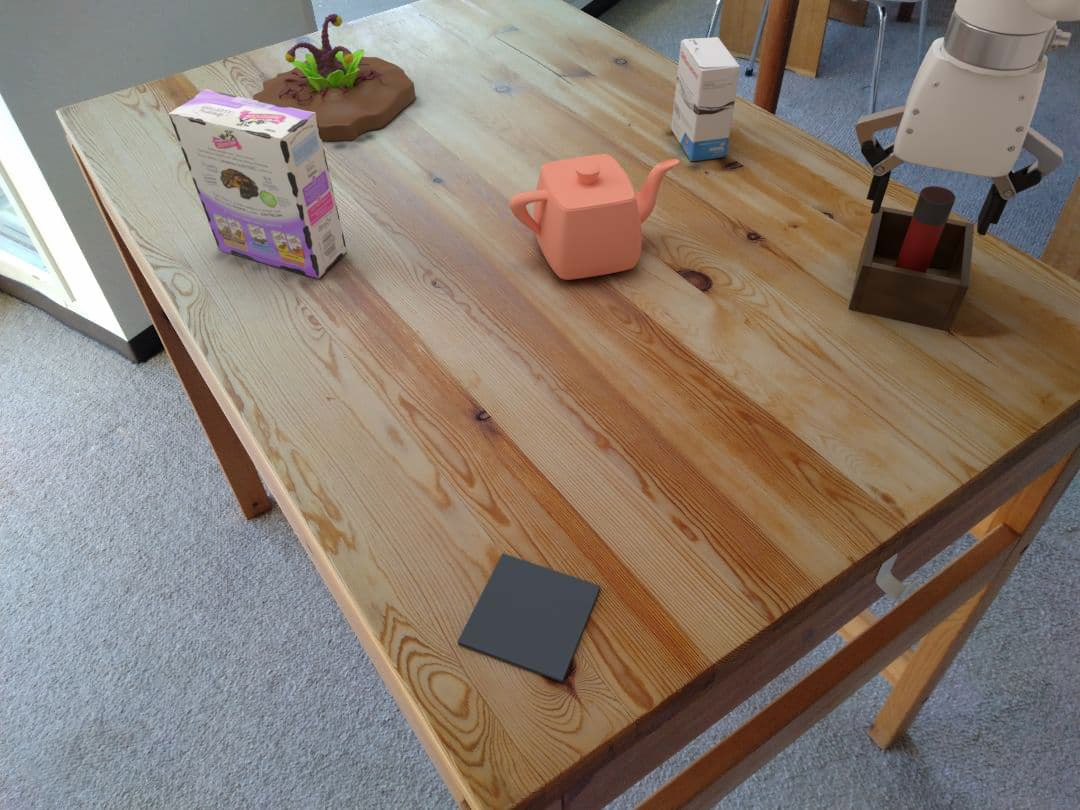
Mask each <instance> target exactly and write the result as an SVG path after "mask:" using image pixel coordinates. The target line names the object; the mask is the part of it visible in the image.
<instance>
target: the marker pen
mask: <svg viewBox="0 0 1080 810" xmlns="http://www.w3.org/2000/svg"><path fill="white" fill-rule="evenodd" d="M955 202H956V194H955V193H954V192H953V191H952V190H951V189H948V188H947V187H943V186H937V185H930V186H925V187H923V188H922V189H921V190H920V192H919V195H918V197H917V200H916V204H915V206H914V210H913V211H912V212H913V217H912V219H911V222H910V225H909V228H908V231H907V234H906V236H905V239H904V242H903V245H902V248H901V251H900V253H899V256H898V259H897V260H896V261H895V265H894V267H898V268H903V269H908V270H913V271H918V272H923V273H927V272H928V270H929V267H930V266H929V264H930V262H931V259H932V257H933V254H934V252H935V249H936V246H937V244H938V241H939V239H940V236H941V234H942V231H943V228H944V226H945V223H946V222H947V220H948V219H949V217H950V214H951V211H952V209H953V207H954V204H955Z"/></svg>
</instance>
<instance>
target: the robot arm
mask: <svg viewBox="0 0 1080 810" xmlns="http://www.w3.org/2000/svg"><path fill="white" fill-rule="evenodd" d="M1075 21H1076V22H1077V21H1080V0H956V2H955V4H954V8H953V10H952V13H951V16H950V20H949V22H948V25H947V29H946V32H945V35H944V37H943V36H942V37H939V38H936V39H935V40H934V41H933V42H932V43H931V45H930V47H929V48H928V50H927V52H926V54H925V56H924V58H923V60H922V61H921V64H920V66H919V68H918V71H917V72H916V74H915V77H914V80H913V82H912V85H911V88H910V90H909V92H908V95H907V97H906V100H905V103H904V104H903V105H900V106H897V107H896V106H895V107H892V108H889V109H885V110H880V111H877V112H873V113H871V114H869V113H868V114H866V115H862V116H859V117H858V118H857V120H856V125H855V132H856V136H857V140H858V143H859V145H860V152H861V154H862V156H863V157H864V159H865V160H866V162H867V163H868V164H869V166H870V167H871V168H872V174H873V176H872V179H871V182H870V186H869V189H868V192H867V196H866V200H868V201H872V203H871V204H872V205H871V208H870V214H872V215H873V214H876V213H879V210H880V207H881V206H882V205H883V201H884V198H885V195H886V192H887V189H888V185H889V182H890V179H891V174H892V170H894V169H896V168H897V167H900V165H902V164H903V163H908V164H911V165H916V166H921V167H926V168H932V169H938V170H942V171H948V172H955V173H960V174H965V175H970V176H977V177H984V178H990V179H991V180H992V182H993V183H992V184H991V186H990V188H989V190H988V193H987V195H986V198H985V200H984V202H983V204H982V207H981V209H980V211H979V214H978V217H977V227H976V233H977V234H978V235H979V236H983V237H984V236H986V235H987V232H988V230H989V228H990V225H992V224H993V225H997V224H998V223H999V221H1000V219H1001V216H1002V214H1003V212H1004V210H1005V208H1006V205H1007V204H1008V201H1010V200H1013V199H1015V197H1016V196H1017V194H1020V193H1021V192H1024V191H1025V190H1028V189H1030V188H1033V187H1034V186H1037V185H1038V184H1040V183H1041V181H1042V179H1044V178H1045V177H1048V176H1049V175H1050V174H1051V173H1052V172H1054V171H1055V170H1056V169H1058V168H1059V167H1060V166H1061V165H1062V164H1063V163H1064V152H1063V150H1062V149H1061V148H1059V146H1057V145H1055V144H1054V143H1053V142H1051V141H1050V140H1049V139H1048V138H1046V137H1045V136H1043V135H1042V134H1040V133H1039V132H1038V131H1037V130H1035V129H1034V128H1033V127H1031V123H1032V121H1033V119H1034V115H1035V112H1036V109H1037V106H1038V102H1039V99H1040V95H1041V91H1042V88H1043V84H1044V81H1045V77H1046V72H1047V67H1048V60H1049V59H1048V57H1047V55H1048V54H1049V52H1055V50H1057V51H1062V52H1063V51H1064V52H1065V51H1066V50H1067V48H1068V46H1069V43H1070V40H1071V38H1072V32H1068V31H1063V30H1062V28H1061V29H1059V28H1058V25H1057V22H1075ZM894 127H896V132H895V139H894V141H893V142H891V143H889V144H888V145H886V146H885V147H883V146H882V144H881V143H880V142H879V140H878V138H876V136H875V134H876V133H875V132H879V131H883V130H887V129H891V128H894ZM1022 148H1023V149H1025V150H1026V151H1027V152H1029V153H1030V154H1031V155H1033V156H1034V157H1035V158H1036V159H1037V160H1035V162H1034V163H1031V164H1030V165H1027V166H1025V167H1023V168H1021V169H1019V170H1017V171H1015V170H1014V169H1013V168H1014V166H1015V164H1016V163H1017V160H1018V158H1019V155H1020V153H1021V151H1022Z"/></svg>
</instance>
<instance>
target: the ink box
mask: <svg viewBox="0 0 1080 810" xmlns="http://www.w3.org/2000/svg"><path fill="white" fill-rule="evenodd" d="M740 70H741V65H740V64H739V63H738V62H737V60H736V59H735V58H734V57H733V55H732V54H731V53H730V51H729V50H728V49H727V47H726V46H725V44H724V43H723V42H722V40H721V39H720V37H719V36H714V37H698V38H697V37H696V38H684V39H682V40H680V45H679V55H678V65H677V75H676V84H675V93H674V101H673V109H672V118H671V119H672V120H671V128H670V129H671V131H672V133H673V135H674V137H675V138H676V140H677V141H678V143H679V145H680V146H681V149H683V152H684V153H685V155H686V156H687V158H688V159H689V161H690V162H696V161H705V160H713V159H720V158H726V157H727V155H728V148H729V142H730V135H731V128H732V122H733V114H734V109H735V102H736V96H737V90H738V84H739V77H740Z"/></svg>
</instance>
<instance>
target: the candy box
mask: <svg viewBox="0 0 1080 810" xmlns="http://www.w3.org/2000/svg"><path fill="white" fill-rule="evenodd" d="M168 117H169V119H170V122H171V124H172V126H173V130H174V132H175V136H176V138H177V140H178V141H177V142H178V143H179V146H180V148H181V151H182V154H183V157H184V160H185V162H186V165H187V167H188V170H189V173H190V176H191V179H192V182H193V185H194V187H195V189H196V192H197V195H198V198H199V200H200V203H201V205H202V208H203V210H204V213H205V216H206V218H207V222H208V224H209V227H210V230H211V232H212V235H213V237H214V238H213V239H214V241H215V244H216V247H217V249H218V250H219V251H221V252H224V253H227V254H230V255H234V256H239V257H241V258H244V259H247V260H251V261H256V262H259V263H262V264H265V265H269V266H273V267H277V268H280V269H283V270H287V271H289V272H290V271H291V272H295V273H298V274H301V275H304V276H308V277H312V278H315V279H320V278H321V277H322V276H323V275H324V274H325V273H326V272H327V271H328V270H329V269H330V268H331V267H332V266H334V264H335V263H337V262H338V261H339V260H340V259H341V258H342V257H343V256H344V255H345V254H346V253H347V252H348V249H347V244H346V241H345V237H344V236H345V235H344V232H343V226H342V223H341V219H340V214H339V210H338V205H337V201H336V196H335V192H334V187H333V184H332V178H331V174H330V170H329V165H328V161H327V156H326V152H325V148H324V143H323V140H322V139H321V134H320V130H319V125H318V121H317V117H316V113H315V112H309V111H304V110H300V109H295V108H289V107H285V106H280V105H275V104H270V103H266V102H261V101H257V100H253V98H248V97H244V96H243V97H242V96H238V95H233V94H228V93H224V92H220V91H215V90H211V89H207V88H204V89H203V90H202V91H200V92H199V93H198V94H195V95H194V96H193V97H191V98H190V99H187V101H185V102H183V103H182V104H180V105H179V106H178V107H176V108H174V109H173V110H171V111H170V112H168Z"/></svg>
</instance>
